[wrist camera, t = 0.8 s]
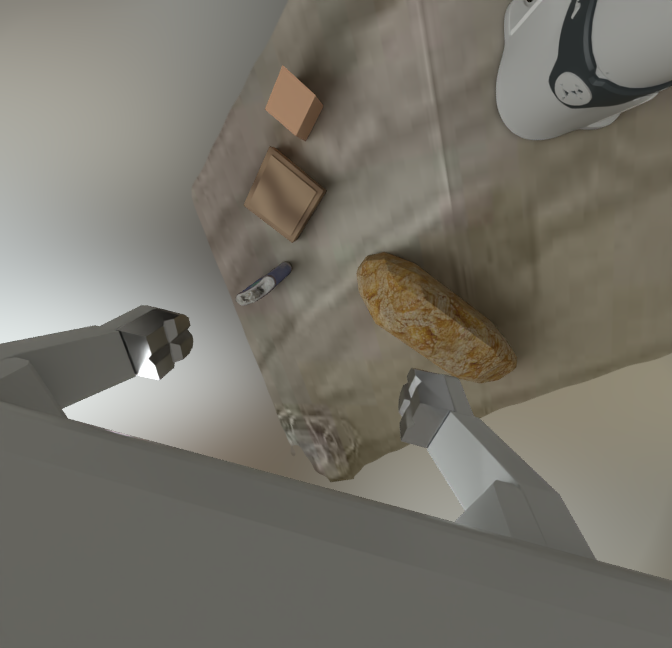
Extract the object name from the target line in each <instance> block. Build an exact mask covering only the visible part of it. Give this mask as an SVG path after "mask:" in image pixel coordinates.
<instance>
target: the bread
mask: <svg viewBox="0 0 672 648" xmlns="http://www.w3.org/2000/svg"><path fill="white" fill-rule="evenodd" d="M357 280H358V288H359V293H360V295H361V297H362V298H363V300H364V302H365V304H366V306H367V308H368V310H369V312H370V314H371V315H372V317H373V319H374V321H375V323H376V324H377V325H379V326H380V327H382V328H383V329H385V330H386V331H388V332H389V333H391V334H392V335H394V336H395V337H396V338H398V339H399V340H401V341H402V342H404V343H405V344H407V345H408V346H410V347H411V348H413V349H414V350H415V351H417V352H418V353H420V354H421V355H423V356H424V357H426V358H427V359H429V360H430V361H432V362H433V363H434V364H436V365H437V366H439V367H440V368H442V369H443V370H445V371H446V372H448V373H449V374H451V375H452V376H454V377H457V378H458V379H463V380H467V381H472V382H477V383H484V382H490V381H495V380H499V379H501V378H502V377H504V376H505V375H507V374H508V373H510V372H512V371H513V370H514V369H515V368H516V364H517V357H516V355H515V353H514V352H513V350H512V349H511V347H510V345H509V344H508V342H507V341H506V339H505V338H504V337H503V336H502V334H501V333H500V332H499V331H498V329H497V328H496V327H495V326H494V324H493V323H492V322H491V321H490V320H489V319H488V318H486V317H485V316H484V315H482V314H481V313H480V312H478V311H477V310H476V309H474V308H473V307H472V306H470V305H469V304H468V303H466V302H465V301H464V300H462V299H461V298H460V297H459V296H457V295H456V294H455V293H453V292H452V291H451V290H449V289H448V288H447V287H445V286H444V285H443V284H441V283H440V282H439V281H437V280H436V279H435V278H433V277H432V276H431V275H429V274H428V273H427V272H425V271H424V270H423V269H422V268H420V267H419V266H418V265H416V264H415V263H413V262H410V261H407V260H405V259H402V258H399V257H397V256H394V255H391V254H388V253H386V252H382V253H378V254H373V255H369V256H367V257H366V258H365V259H364V261H363V262H362V263H361V265H360V266H359V267H358V271H357Z"/></svg>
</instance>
